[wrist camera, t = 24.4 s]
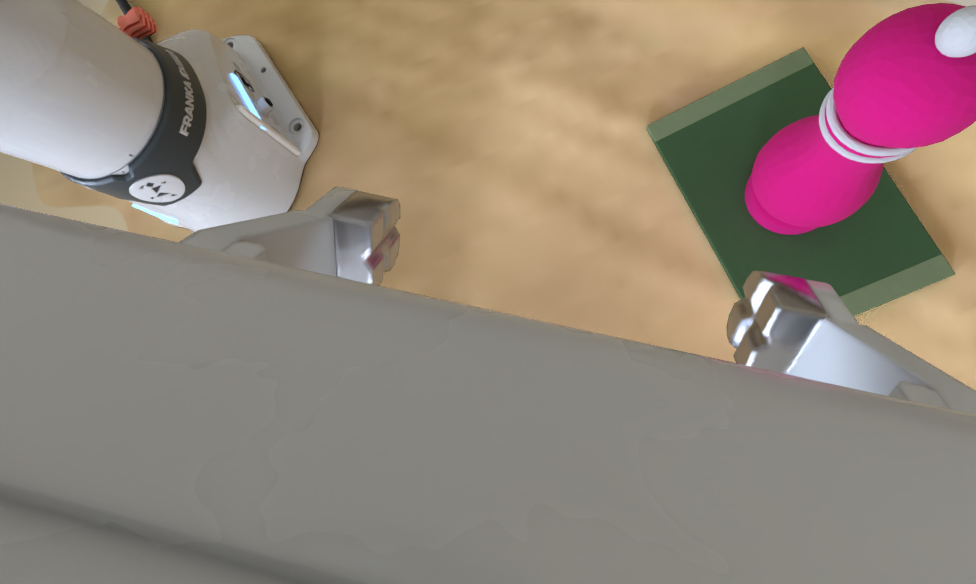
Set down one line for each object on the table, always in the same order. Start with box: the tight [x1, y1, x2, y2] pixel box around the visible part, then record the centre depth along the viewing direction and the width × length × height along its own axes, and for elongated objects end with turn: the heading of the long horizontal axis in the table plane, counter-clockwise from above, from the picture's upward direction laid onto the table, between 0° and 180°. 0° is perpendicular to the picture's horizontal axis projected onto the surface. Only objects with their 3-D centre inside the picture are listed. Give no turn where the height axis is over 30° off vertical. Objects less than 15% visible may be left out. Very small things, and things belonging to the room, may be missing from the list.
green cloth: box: [647, 47, 955, 316], centre depth 38 cm, size 20×13×1 cm, turn 23°
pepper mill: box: [745, 3, 976, 235], centre depth 28 cm, size 7×7×20 cm
